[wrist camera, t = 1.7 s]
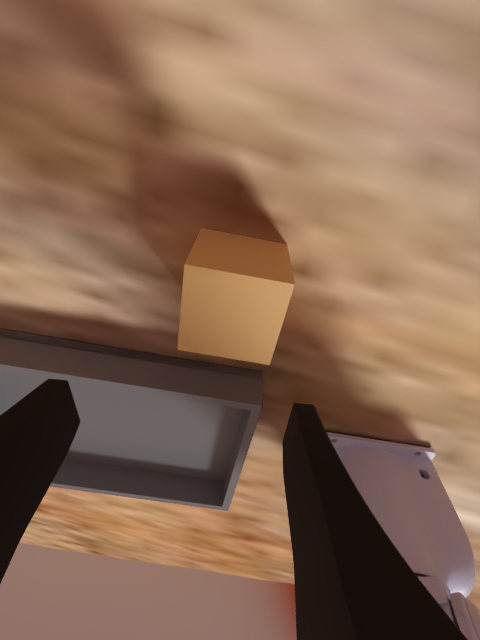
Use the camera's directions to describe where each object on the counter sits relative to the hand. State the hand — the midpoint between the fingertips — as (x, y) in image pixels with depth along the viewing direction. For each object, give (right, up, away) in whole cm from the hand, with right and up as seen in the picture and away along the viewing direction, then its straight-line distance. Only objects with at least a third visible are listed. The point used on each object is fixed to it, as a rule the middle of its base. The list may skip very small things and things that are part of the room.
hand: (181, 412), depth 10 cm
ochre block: (+2, +6, +8) cm, 10 cm away
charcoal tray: (-8, -5, +15) cm, 17 cm away
